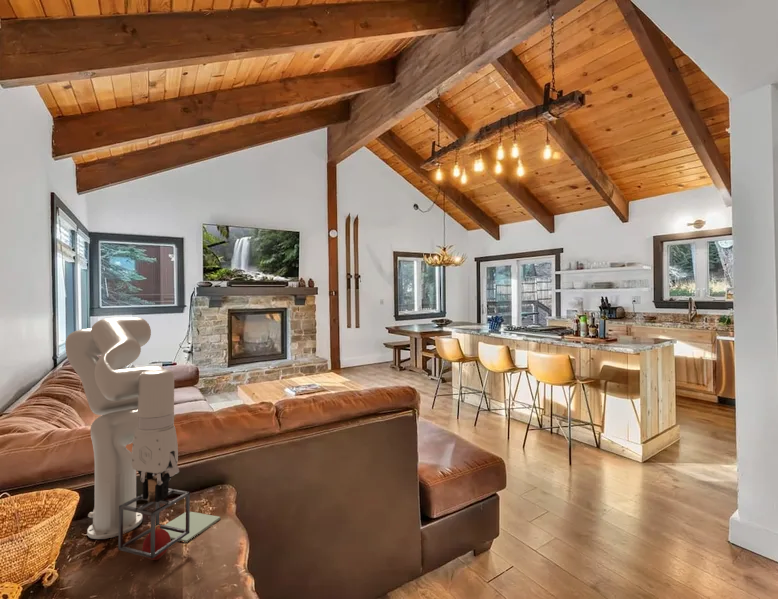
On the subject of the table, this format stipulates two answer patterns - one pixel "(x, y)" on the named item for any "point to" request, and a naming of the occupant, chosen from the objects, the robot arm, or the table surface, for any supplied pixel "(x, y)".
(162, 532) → the onion
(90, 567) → the table surface
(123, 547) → the dark grey metal frame
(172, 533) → the mat
